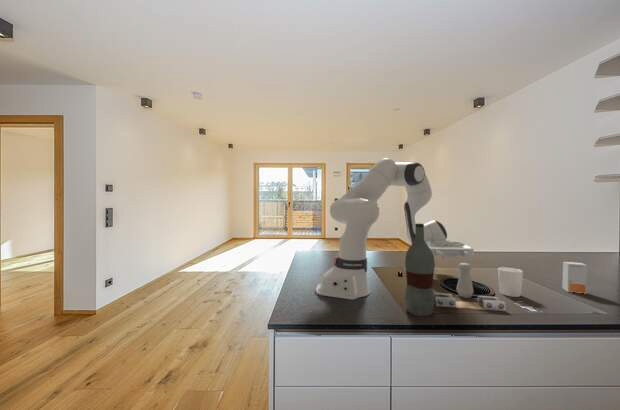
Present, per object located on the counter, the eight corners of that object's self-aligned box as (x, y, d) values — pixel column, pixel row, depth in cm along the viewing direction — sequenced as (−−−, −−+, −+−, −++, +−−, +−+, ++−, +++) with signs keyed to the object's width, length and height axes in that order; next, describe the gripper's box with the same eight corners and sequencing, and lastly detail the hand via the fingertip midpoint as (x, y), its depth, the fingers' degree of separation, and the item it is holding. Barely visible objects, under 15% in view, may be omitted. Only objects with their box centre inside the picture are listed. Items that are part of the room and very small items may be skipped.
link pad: (457, 308, 90) (457, 307, 90) (451, 301, 96) (451, 300, 96) (484, 310, 88) (484, 309, 88) (476, 303, 94) (476, 302, 94)
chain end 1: (436, 306, 91) (436, 298, 91) (432, 300, 97) (432, 292, 96) (456, 307, 90) (456, 299, 90) (450, 301, 95) (450, 293, 95)
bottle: (434, 308, 90) (434, 223, 89) (435, 319, 81) (435, 225, 81) (405, 303, 93) (405, 222, 93) (403, 313, 85) (404, 224, 85)
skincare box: (567, 292, 105) (568, 263, 105) (562, 289, 109) (562, 261, 109) (587, 294, 103) (587, 265, 103) (580, 291, 107) (581, 262, 107)
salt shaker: (475, 299, 98) (476, 265, 97) (459, 298, 99) (459, 265, 99) (469, 294, 103) (469, 262, 103) (454, 293, 105) (454, 261, 104)
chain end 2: (484, 309, 88) (484, 301, 88) (477, 303, 94) (477, 295, 94) (505, 311, 87) (505, 302, 87) (497, 304, 92) (497, 296, 92)
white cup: (516, 299, 98) (516, 273, 98) (493, 292, 105) (494, 268, 105) (526, 295, 102) (526, 270, 102) (504, 289, 109) (504, 266, 109)
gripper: (421, 242, 128) (429, 247, 115) (466, 242, 125) (479, 248, 111) (421, 254, 129) (429, 261, 115) (466, 255, 125) (479, 262, 111)
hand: (454, 254), depth 113 cm, fingers open, 8 cm apart
